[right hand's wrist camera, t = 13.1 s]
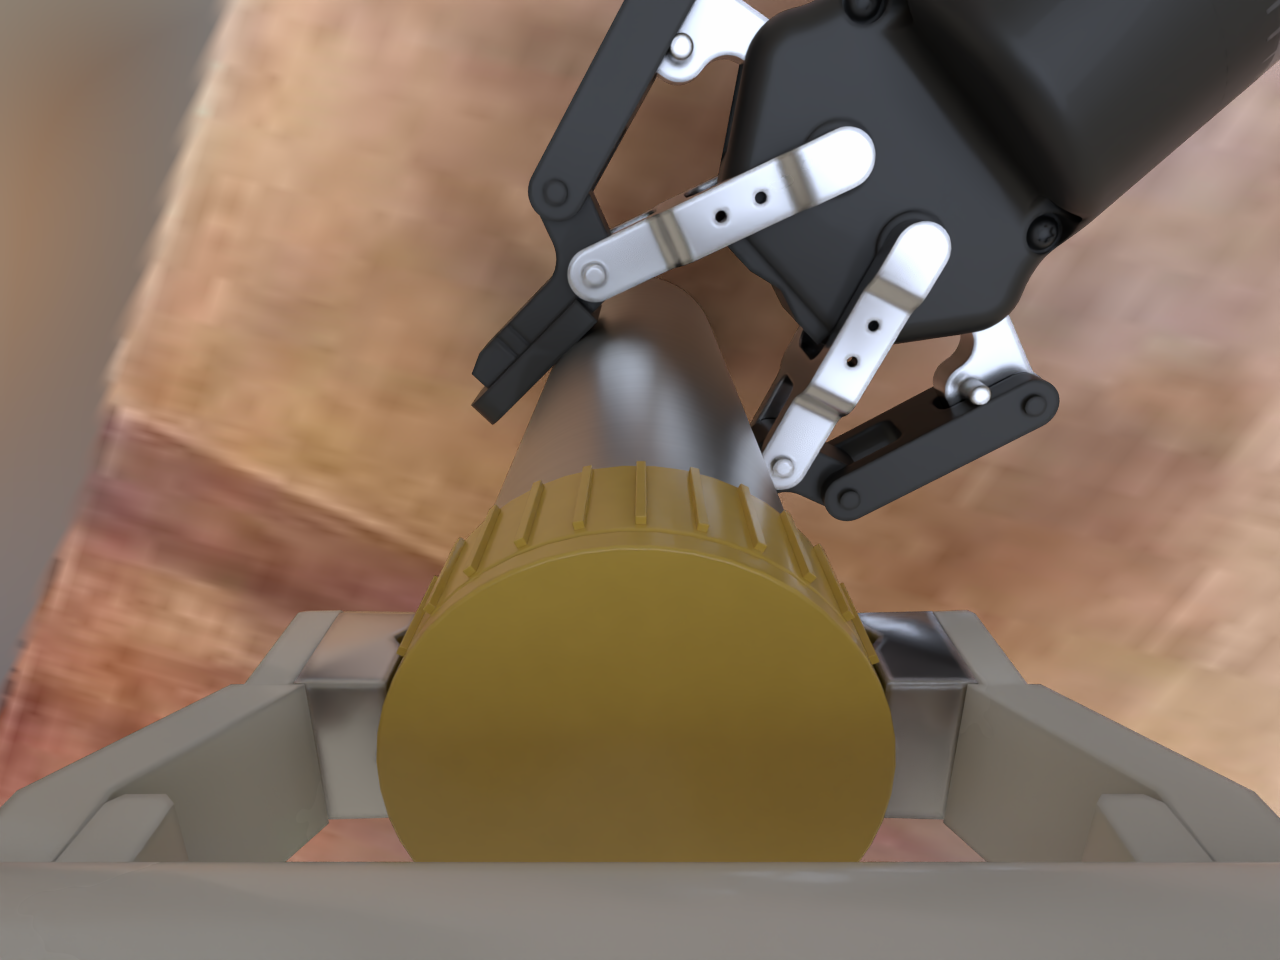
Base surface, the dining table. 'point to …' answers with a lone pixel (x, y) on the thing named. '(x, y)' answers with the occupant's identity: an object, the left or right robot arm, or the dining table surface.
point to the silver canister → (642, 400)
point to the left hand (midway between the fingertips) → (568, 477)
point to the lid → (636, 686)
